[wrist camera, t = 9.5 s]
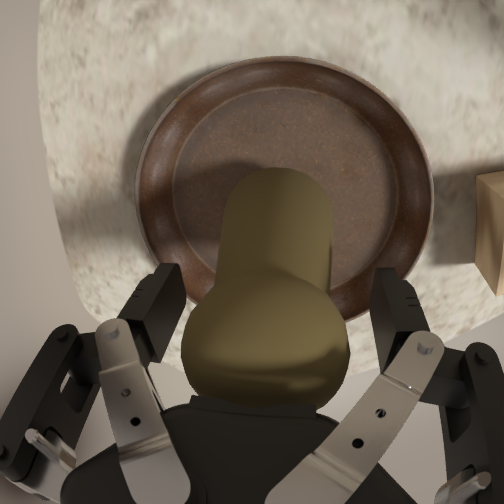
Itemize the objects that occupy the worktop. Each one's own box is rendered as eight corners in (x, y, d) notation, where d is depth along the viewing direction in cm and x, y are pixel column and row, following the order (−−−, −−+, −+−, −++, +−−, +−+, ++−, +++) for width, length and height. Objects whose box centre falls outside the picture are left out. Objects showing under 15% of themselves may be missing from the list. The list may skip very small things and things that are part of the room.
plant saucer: (377, 26, 13) (391, 18, 11) (430, 275, 21) (443, 301, 19) (113, 127, 19) (88, 138, 16) (219, 323, 27) (211, 350, 24)
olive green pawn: (276, 282, 20) (258, 453, 10) (202, 217, 18) (119, 378, 9) (355, 224, 17) (406, 399, 8) (280, 143, 15) (262, 274, 6)
